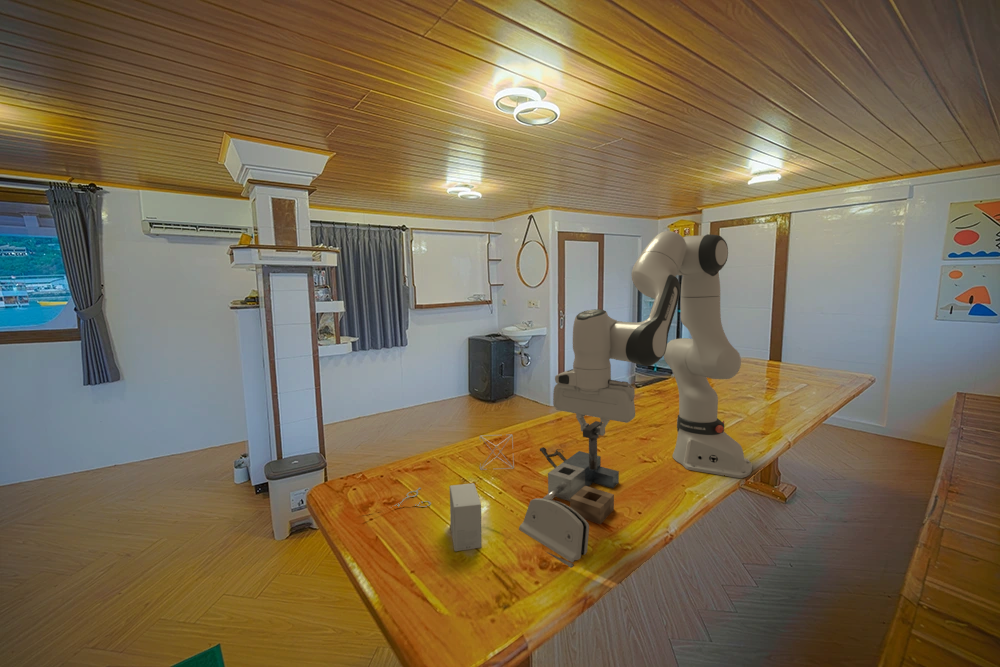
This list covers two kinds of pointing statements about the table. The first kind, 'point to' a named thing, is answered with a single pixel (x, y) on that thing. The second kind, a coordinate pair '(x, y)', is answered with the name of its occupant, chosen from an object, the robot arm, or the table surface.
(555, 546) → the grey curved-top slotted block
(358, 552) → the table surface
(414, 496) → the scissors
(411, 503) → the table surface
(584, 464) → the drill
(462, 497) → the skincare box
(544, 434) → the table surface
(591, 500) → the brown square ring block
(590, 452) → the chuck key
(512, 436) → the geometric polyhedron
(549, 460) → the forked twig branch
